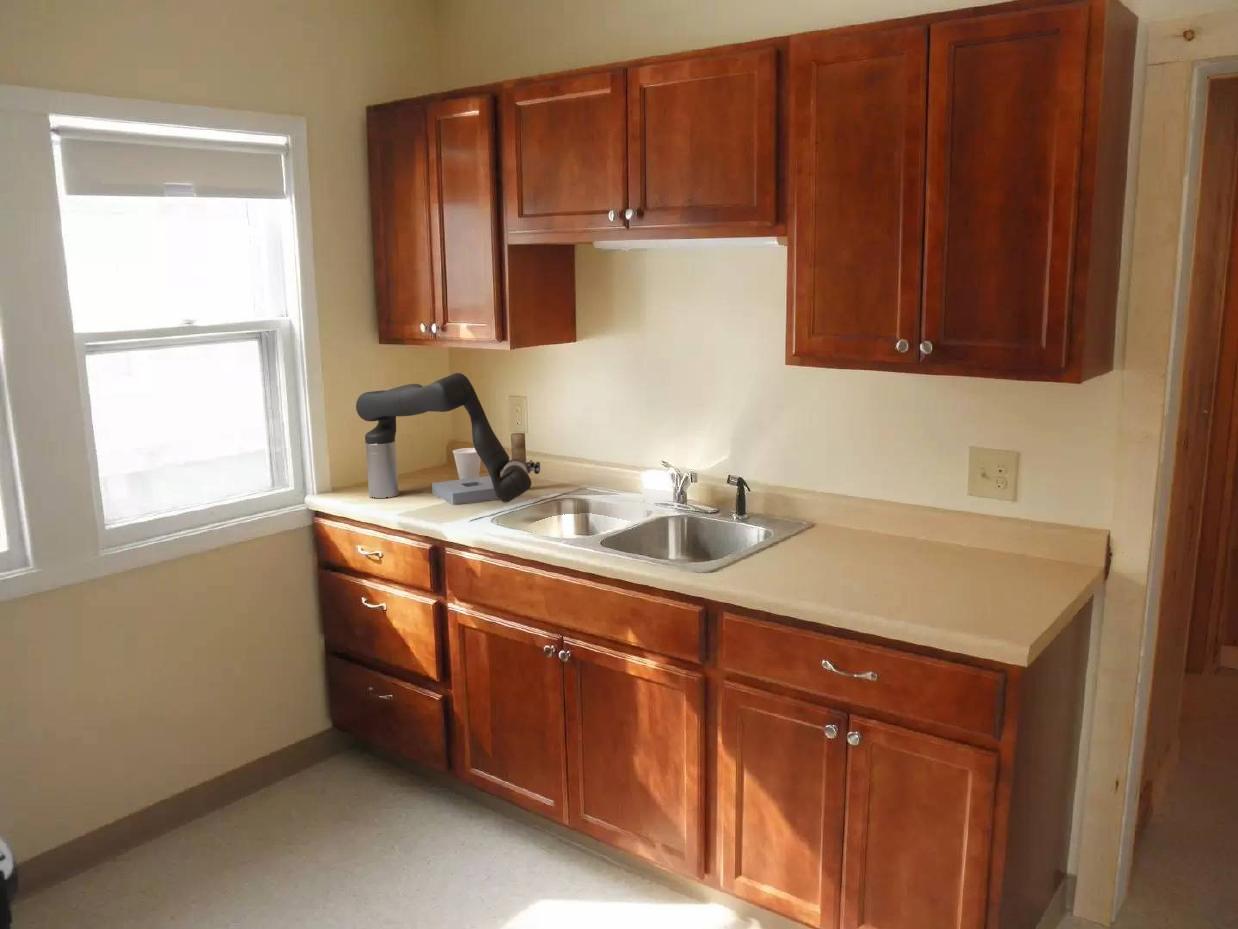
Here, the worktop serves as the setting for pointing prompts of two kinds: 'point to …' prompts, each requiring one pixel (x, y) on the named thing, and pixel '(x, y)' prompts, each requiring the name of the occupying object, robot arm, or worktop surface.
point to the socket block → (465, 490)
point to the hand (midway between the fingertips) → (517, 464)
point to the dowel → (518, 446)
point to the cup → (467, 463)
